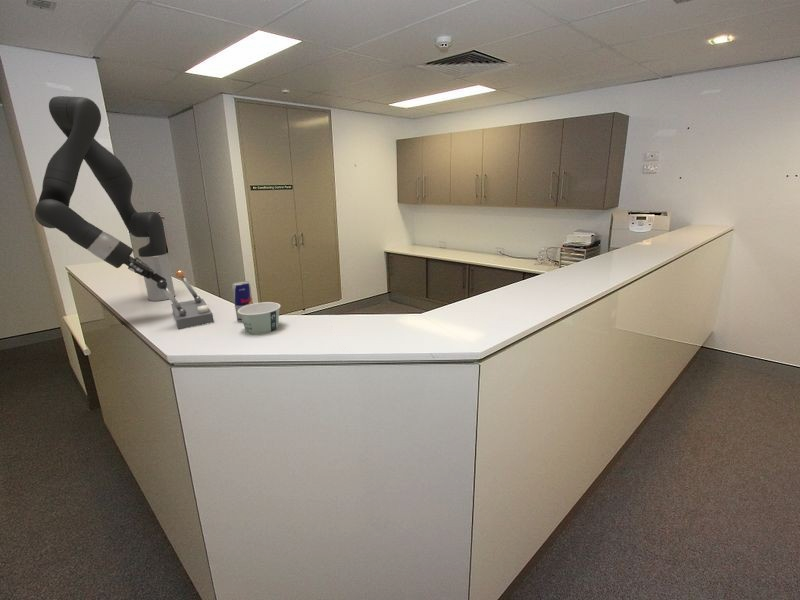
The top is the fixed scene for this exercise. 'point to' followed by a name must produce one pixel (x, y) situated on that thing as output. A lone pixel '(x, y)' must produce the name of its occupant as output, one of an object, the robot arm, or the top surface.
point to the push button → (203, 308)
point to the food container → (260, 317)
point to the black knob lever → (171, 296)
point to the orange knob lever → (187, 285)
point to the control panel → (192, 314)
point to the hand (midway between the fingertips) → (164, 282)
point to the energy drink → (241, 296)
